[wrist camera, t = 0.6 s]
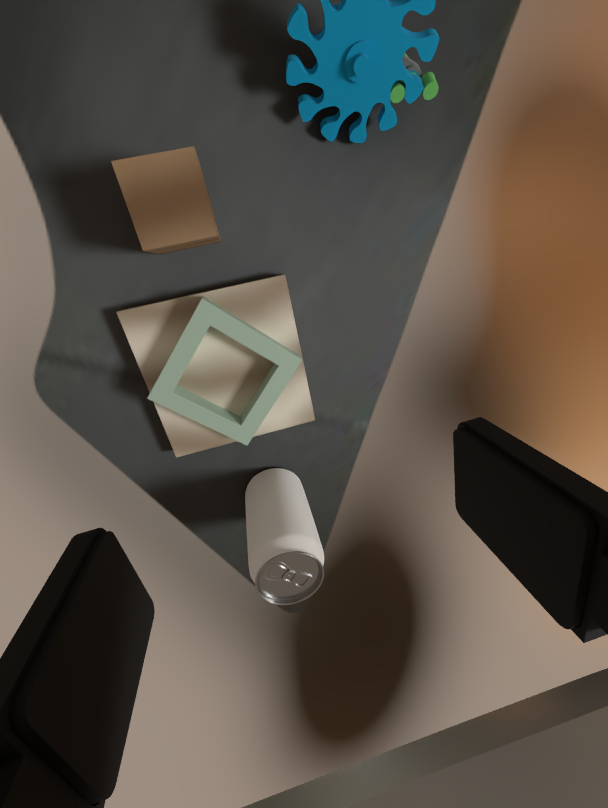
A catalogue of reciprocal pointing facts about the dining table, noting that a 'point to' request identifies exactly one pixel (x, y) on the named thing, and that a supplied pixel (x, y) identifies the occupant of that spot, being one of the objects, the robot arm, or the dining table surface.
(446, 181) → the dining table surface
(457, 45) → the dining table surface
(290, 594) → the can
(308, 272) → the dining table surface
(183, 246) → the block
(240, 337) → the pocket
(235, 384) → the board
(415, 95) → the gear
